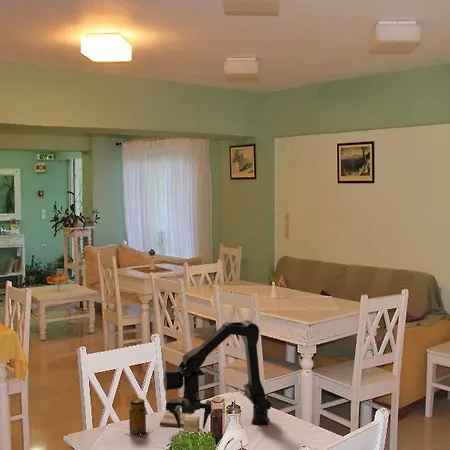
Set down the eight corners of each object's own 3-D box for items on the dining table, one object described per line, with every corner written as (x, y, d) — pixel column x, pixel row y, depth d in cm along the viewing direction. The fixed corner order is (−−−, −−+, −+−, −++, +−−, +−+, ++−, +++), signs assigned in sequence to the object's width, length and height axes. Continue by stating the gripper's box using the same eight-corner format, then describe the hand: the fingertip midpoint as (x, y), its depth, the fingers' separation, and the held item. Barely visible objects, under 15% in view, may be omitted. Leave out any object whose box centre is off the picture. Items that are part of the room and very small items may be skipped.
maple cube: (186, 428, 231) (186, 415, 230) (199, 428, 230) (199, 415, 230) (183, 433, 226) (183, 420, 225) (197, 433, 225) (197, 420, 225)
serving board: (166, 414, 244) (166, 411, 244) (191, 415, 243) (191, 412, 243) (159, 425, 232) (159, 422, 232) (185, 427, 231) (185, 423, 231)
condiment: (134, 427, 231) (134, 396, 231) (154, 430, 228) (154, 399, 227) (124, 434, 225) (124, 402, 224) (144, 437, 221) (144, 405, 221)
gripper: (162, 393, 220) (162, 435, 221) (212, 395, 218) (213, 438, 218) (168, 383, 231) (169, 423, 232) (217, 385, 229) (217, 426, 230)
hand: (191, 427), depth 228 cm, fingers open, 9 cm apart
